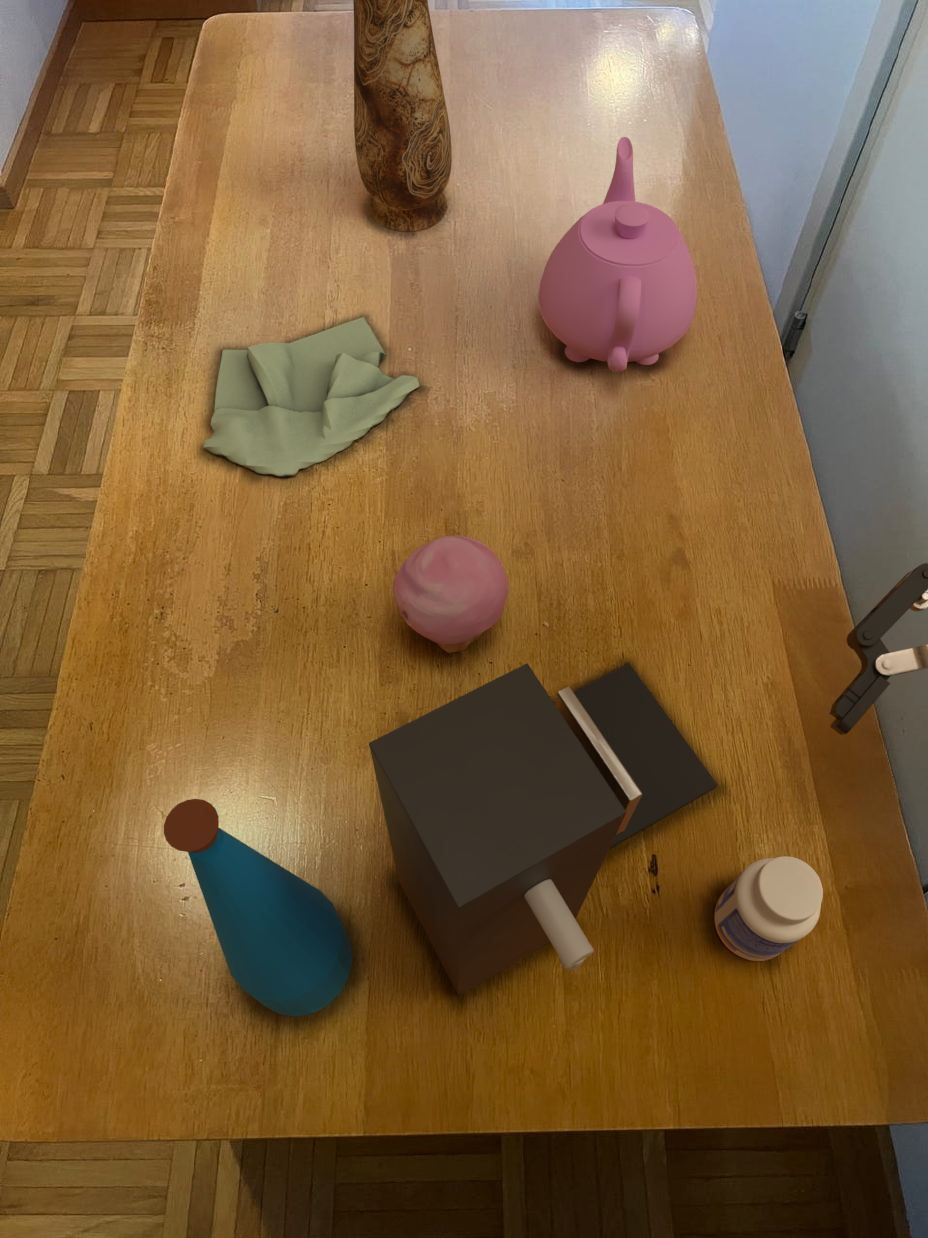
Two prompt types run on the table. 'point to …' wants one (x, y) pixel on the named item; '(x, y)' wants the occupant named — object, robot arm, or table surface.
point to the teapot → (619, 279)
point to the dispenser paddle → (599, 752)
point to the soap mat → (644, 747)
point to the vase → (400, 114)
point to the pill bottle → (769, 907)
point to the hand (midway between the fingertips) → (901, 781)
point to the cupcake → (451, 591)
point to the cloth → (302, 399)
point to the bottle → (264, 917)
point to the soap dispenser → (495, 826)
